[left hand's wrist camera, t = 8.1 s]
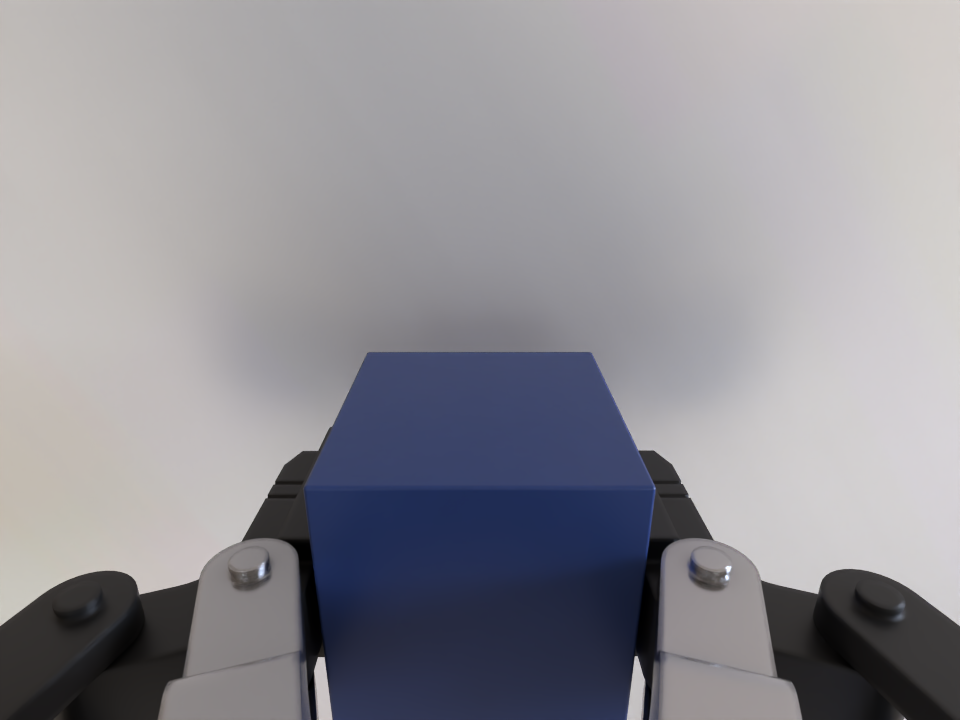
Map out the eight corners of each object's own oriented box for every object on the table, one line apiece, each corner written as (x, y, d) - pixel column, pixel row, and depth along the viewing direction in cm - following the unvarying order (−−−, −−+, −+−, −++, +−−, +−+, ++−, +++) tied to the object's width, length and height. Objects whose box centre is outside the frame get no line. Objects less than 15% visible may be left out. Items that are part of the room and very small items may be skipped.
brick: (381, 547, 14) (335, 750, 9) (366, 351, 12) (301, 486, 8) (577, 546, 14) (624, 749, 9) (592, 351, 12) (656, 487, 8)
